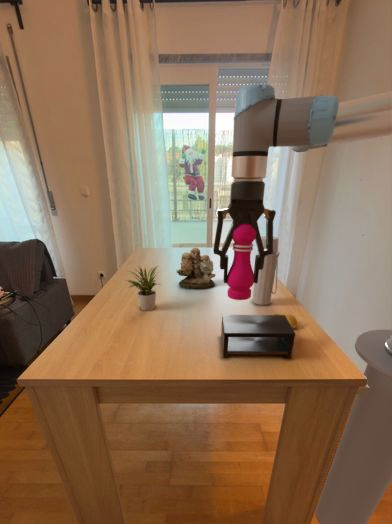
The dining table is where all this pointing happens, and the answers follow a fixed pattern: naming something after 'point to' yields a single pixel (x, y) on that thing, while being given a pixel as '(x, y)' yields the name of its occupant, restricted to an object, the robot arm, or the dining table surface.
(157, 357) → the dining table surface
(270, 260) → the water bottle
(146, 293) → the house plant
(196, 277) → the owl figurine
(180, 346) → the dining table surface
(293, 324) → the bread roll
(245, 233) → the pepper mill
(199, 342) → the dining table surface
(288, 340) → the rack
